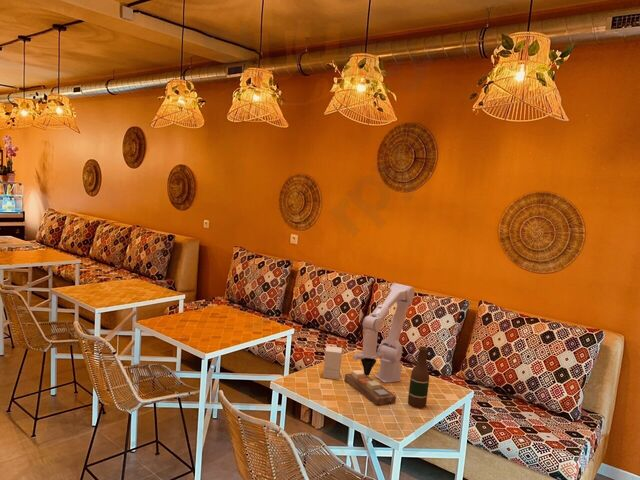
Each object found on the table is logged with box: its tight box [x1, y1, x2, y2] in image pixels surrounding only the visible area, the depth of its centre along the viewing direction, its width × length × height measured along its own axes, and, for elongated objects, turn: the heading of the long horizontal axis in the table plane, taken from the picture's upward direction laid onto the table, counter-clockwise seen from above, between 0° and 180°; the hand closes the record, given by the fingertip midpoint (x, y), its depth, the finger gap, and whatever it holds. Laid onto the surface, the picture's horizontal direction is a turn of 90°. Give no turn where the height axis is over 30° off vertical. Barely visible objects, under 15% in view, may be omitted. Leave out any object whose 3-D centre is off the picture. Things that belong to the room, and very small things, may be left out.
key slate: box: [374, 389, 389, 397], centre depth 198 cm, size 4×4×2 cm
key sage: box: [366, 380, 382, 391], centre depth 203 cm, size 4×4×2 cm
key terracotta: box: [359, 378, 371, 385], centre depth 208 cm, size 4×4×2 cm
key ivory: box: [351, 369, 366, 379], centre depth 213 cm, size 4×4×2 cm
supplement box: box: [322, 345, 343, 380], centre depth 218 cm, size 7×7×13 cm
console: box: [344, 372, 397, 407], centre depth 206 cm, size 9×26×3 cm, turn 27°
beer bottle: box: [407, 345, 430, 409], centre depth 196 cm, size 8×8×24 cm
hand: (366, 374), depth 208 cm, fingers closed
